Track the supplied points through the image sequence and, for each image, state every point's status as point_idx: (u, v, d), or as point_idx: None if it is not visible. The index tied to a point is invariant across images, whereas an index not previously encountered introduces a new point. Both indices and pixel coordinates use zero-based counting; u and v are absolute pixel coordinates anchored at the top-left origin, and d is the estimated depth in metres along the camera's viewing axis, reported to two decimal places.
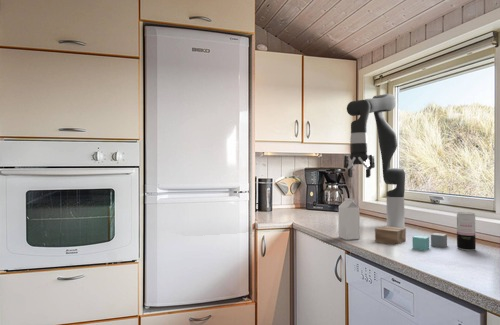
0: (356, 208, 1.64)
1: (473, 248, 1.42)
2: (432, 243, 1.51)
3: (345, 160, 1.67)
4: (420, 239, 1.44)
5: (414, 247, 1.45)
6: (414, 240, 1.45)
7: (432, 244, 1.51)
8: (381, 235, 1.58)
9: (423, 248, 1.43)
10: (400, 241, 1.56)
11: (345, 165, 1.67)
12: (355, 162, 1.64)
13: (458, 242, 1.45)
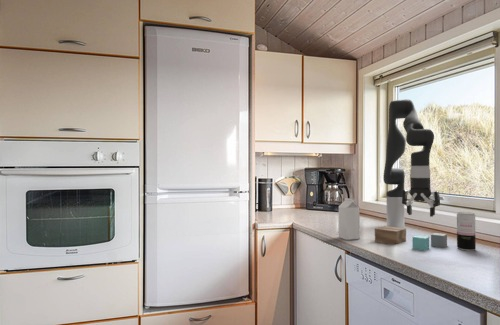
0: (356, 208, 1.64)
1: (473, 248, 1.42)
2: (432, 243, 1.51)
3: (404, 195, 1.49)
4: (420, 239, 1.44)
5: (414, 247, 1.45)
6: (414, 240, 1.45)
7: (432, 244, 1.51)
8: (381, 235, 1.58)
9: (423, 248, 1.43)
10: (400, 241, 1.56)
11: (404, 201, 1.50)
12: (416, 198, 1.46)
13: (458, 242, 1.45)
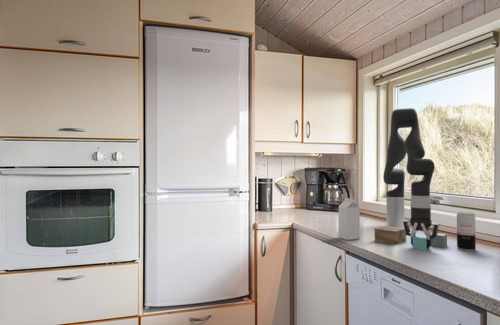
0: (356, 208, 1.64)
1: (473, 248, 1.42)
2: (432, 243, 1.51)
3: (405, 226, 1.49)
4: (420, 239, 1.44)
5: (414, 247, 1.45)
6: (414, 240, 1.45)
7: (432, 244, 1.51)
8: (381, 235, 1.59)
9: (423, 248, 1.43)
10: (399, 241, 1.56)
11: (407, 232, 1.48)
12: (418, 228, 1.46)
13: (458, 242, 1.45)
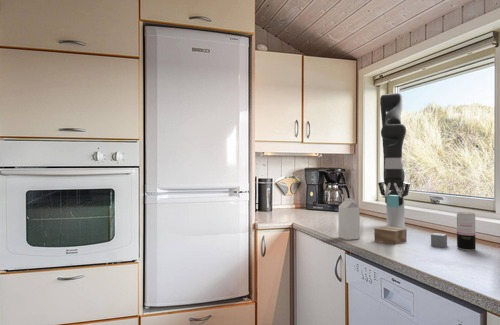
0: (356, 208, 1.64)
1: (473, 248, 1.42)
2: (432, 243, 1.51)
3: (380, 187, 1.62)
4: (393, 197, 1.57)
5: (388, 205, 1.59)
6: (388, 198, 1.59)
7: (432, 244, 1.51)
8: (380, 235, 1.59)
9: (396, 205, 1.56)
10: (399, 241, 1.56)
11: (382, 192, 1.62)
12: (391, 187, 1.59)
13: (458, 242, 1.45)
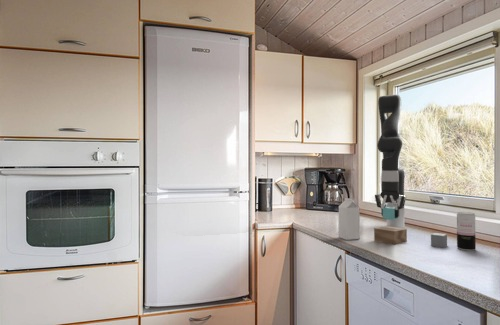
0: (356, 208, 1.64)
1: (473, 248, 1.42)
2: (432, 243, 1.51)
3: (377, 199, 1.64)
4: (389, 209, 1.58)
5: (384, 217, 1.60)
6: (384, 211, 1.60)
7: (432, 244, 1.51)
8: (380, 235, 1.59)
9: (392, 217, 1.58)
10: (398, 241, 1.56)
11: (378, 204, 1.63)
12: (387, 200, 1.60)
13: (458, 242, 1.45)
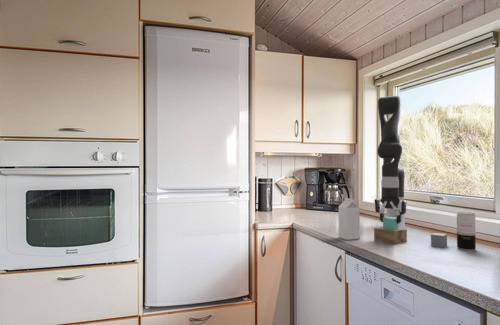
0: (356, 208, 1.64)
1: (473, 248, 1.42)
2: (432, 243, 1.51)
3: (376, 204, 1.64)
4: (389, 219, 1.58)
5: (384, 227, 1.60)
6: (384, 221, 1.60)
7: (432, 244, 1.51)
8: (380, 235, 1.59)
9: (392, 227, 1.58)
10: (398, 241, 1.56)
11: (377, 209, 1.64)
12: (387, 206, 1.61)
13: (458, 242, 1.45)
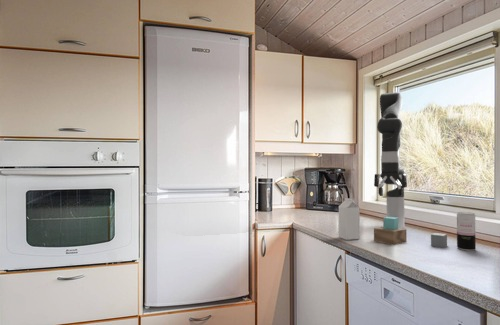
0: (356, 208, 1.64)
1: (473, 248, 1.42)
2: (432, 243, 1.51)
3: (375, 179, 1.65)
4: (390, 219, 1.58)
5: (384, 227, 1.60)
6: (384, 220, 1.60)
7: (432, 244, 1.51)
8: (379, 235, 1.59)
9: (392, 227, 1.58)
10: (398, 241, 1.55)
11: (375, 184, 1.65)
12: (386, 181, 1.62)
13: (458, 242, 1.45)
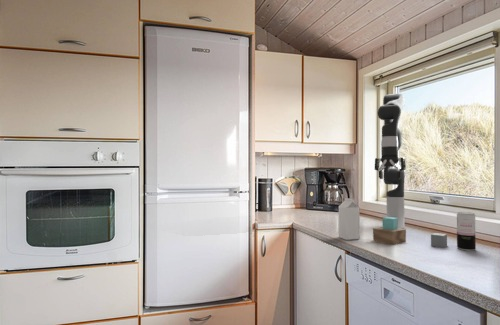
0: (356, 208, 1.64)
1: (473, 248, 1.42)
2: (432, 243, 1.51)
3: (376, 162, 1.74)
4: (389, 220, 1.58)
5: (384, 227, 1.60)
6: (384, 221, 1.60)
7: (432, 244, 1.51)
8: (378, 235, 1.59)
9: (391, 228, 1.57)
10: (397, 242, 1.55)
11: (376, 167, 1.74)
12: (386, 164, 1.71)
13: (458, 242, 1.45)
